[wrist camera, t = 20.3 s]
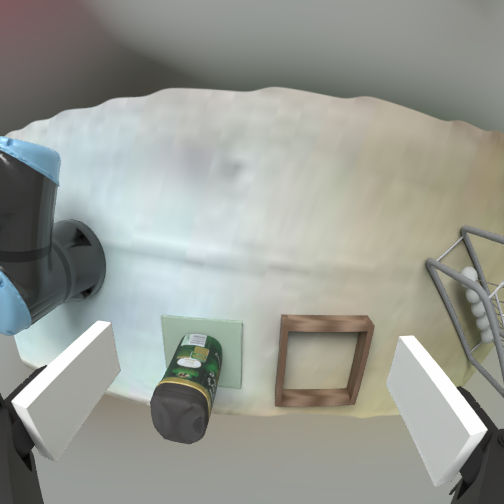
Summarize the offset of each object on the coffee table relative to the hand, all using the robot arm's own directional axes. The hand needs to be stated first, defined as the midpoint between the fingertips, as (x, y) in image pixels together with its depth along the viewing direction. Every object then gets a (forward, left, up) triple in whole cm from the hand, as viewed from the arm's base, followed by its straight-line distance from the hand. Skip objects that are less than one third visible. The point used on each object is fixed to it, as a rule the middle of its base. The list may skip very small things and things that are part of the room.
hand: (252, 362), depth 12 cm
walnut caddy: (+11, -22, -35) cm, 43 cm away
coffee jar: (-10, -22, -34) cm, 42 cm away
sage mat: (-10, -22, -35) cm, 42 cm away
